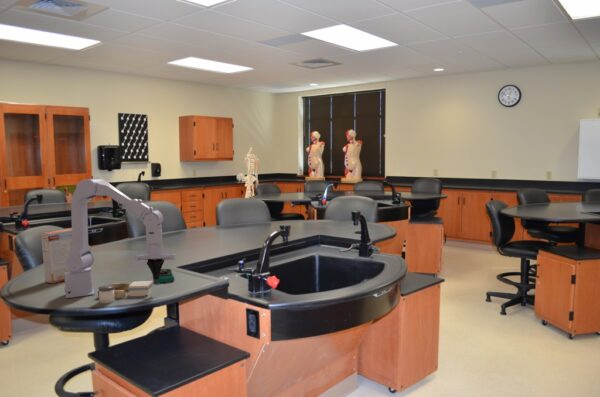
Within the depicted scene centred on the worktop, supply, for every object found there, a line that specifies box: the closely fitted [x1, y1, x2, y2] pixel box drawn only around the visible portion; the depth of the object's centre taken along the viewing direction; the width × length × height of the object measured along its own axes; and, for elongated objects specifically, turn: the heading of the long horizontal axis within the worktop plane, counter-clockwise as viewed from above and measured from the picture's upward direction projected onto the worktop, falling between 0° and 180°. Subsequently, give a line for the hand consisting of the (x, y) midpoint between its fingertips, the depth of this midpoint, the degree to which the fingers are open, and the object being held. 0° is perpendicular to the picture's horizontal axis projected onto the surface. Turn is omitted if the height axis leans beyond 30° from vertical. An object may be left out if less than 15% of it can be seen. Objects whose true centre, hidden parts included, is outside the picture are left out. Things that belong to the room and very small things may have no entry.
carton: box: [128, 280, 154, 297], centre depth 174 cm, size 7×6×4 cm
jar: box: [98, 284, 116, 305], centre depth 165 cm, size 5×5×5 cm
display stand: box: [97, 282, 133, 299], centre depth 175 cm, size 10×11×2 cm
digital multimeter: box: [155, 268, 175, 284], centre depth 196 cm, size 7×15×3 cm, turn 20°
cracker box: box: [40, 227, 72, 284], centre depth 197 cm, size 14×6×21 cm, turn 148°
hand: (156, 279), depth 174 cm, fingers closed
